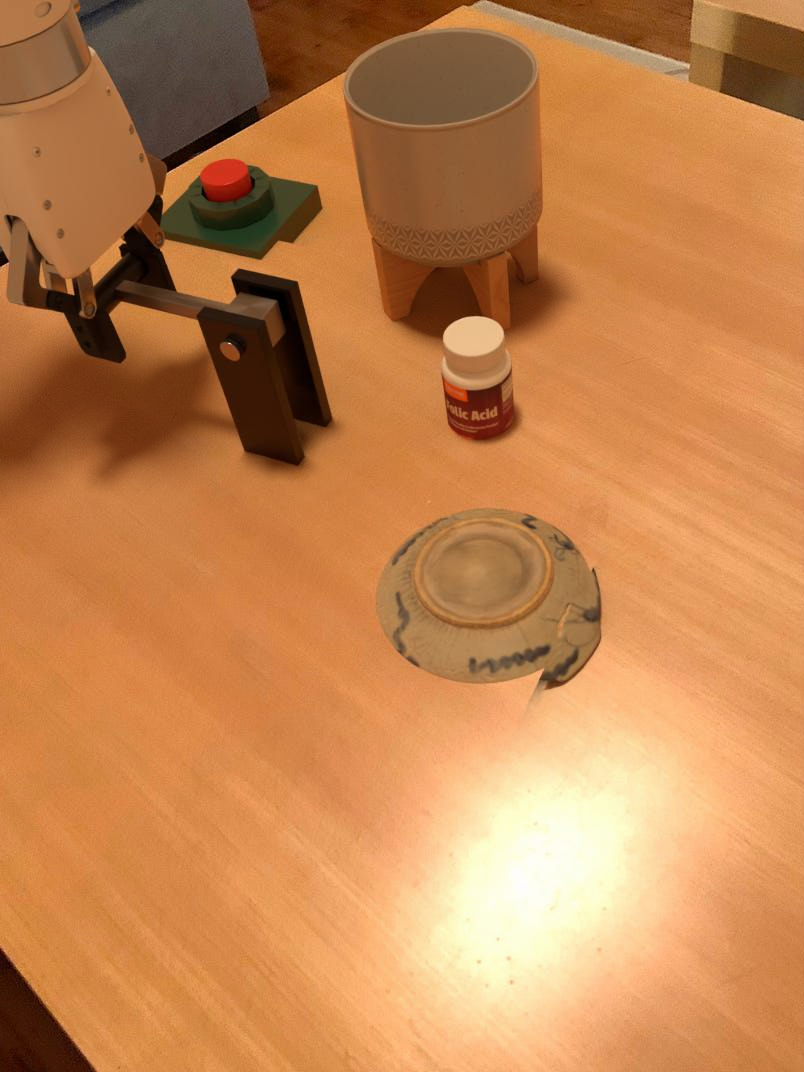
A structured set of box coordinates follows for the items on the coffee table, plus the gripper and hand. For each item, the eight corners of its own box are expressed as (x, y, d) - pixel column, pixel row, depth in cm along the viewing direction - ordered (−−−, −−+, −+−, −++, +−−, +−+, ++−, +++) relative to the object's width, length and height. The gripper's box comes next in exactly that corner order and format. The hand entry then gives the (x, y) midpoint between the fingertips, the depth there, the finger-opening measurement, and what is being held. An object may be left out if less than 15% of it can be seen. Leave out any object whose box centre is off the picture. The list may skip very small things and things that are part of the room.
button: (196, 200, 88) (190, 180, 86) (222, 174, 90) (216, 155, 88) (237, 208, 87) (231, 188, 85) (261, 182, 89) (256, 162, 87)
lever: (84, 325, 69) (69, 294, 67) (132, 276, 71) (119, 245, 70) (255, 369, 65) (246, 338, 63) (299, 316, 68) (291, 284, 66)
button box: (156, 250, 90) (141, 208, 87) (218, 187, 95) (205, 145, 92) (265, 274, 87) (253, 231, 84) (322, 208, 92) (313, 165, 89)
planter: (576, 316, 81) (576, 83, 66) (427, 377, 78) (394, 149, 63) (495, 234, 88) (480, 8, 73) (356, 288, 85) (311, 64, 70)
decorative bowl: (523, 750, 59) (652, 570, 66) (519, 717, 56) (654, 532, 63) (320, 640, 65) (457, 485, 71) (307, 604, 62) (451, 446, 68)
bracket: (189, 471, 74) (125, 322, 64) (254, 390, 79) (205, 239, 68) (336, 514, 71) (294, 364, 60) (395, 427, 75) (366, 273, 65)
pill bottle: (441, 450, 73) (428, 355, 67) (458, 404, 76) (446, 308, 69) (507, 458, 72) (500, 363, 66) (522, 412, 75) (517, 315, 68)
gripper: (57, -24, 62) (159, 246, 77) (-147, 125, 53) (11, 397, 68) (161, -11, 60) (245, 264, 74) (-35, 146, 51) (104, 422, 66)
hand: (132, 325), depth 71 cm, fingers closed on lever, 5 cm apart
